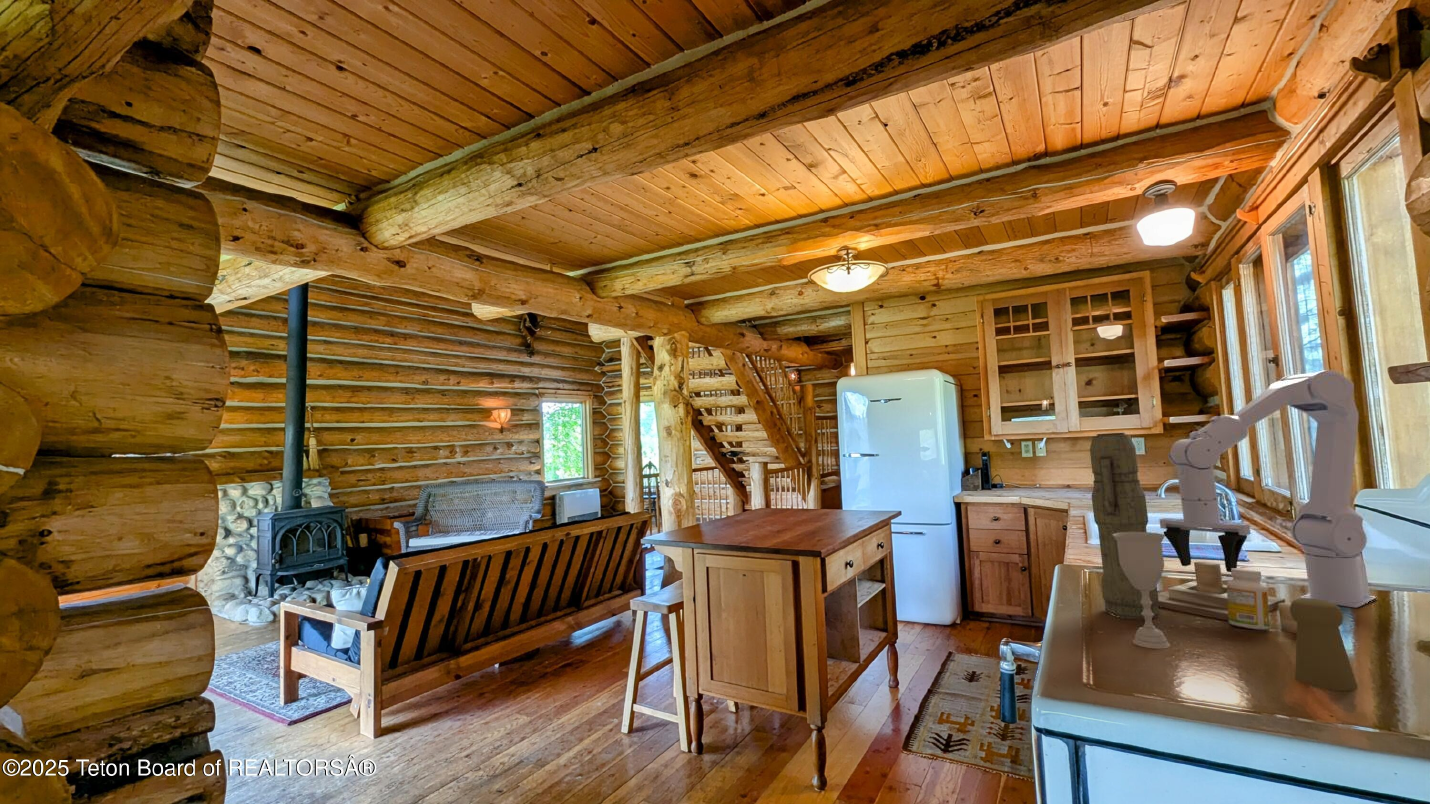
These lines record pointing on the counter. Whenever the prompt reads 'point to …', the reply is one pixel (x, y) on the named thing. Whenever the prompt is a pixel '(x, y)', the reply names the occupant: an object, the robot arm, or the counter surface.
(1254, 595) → the supplement bottle
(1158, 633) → the chalice
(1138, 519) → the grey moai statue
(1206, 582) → the long oak dowel
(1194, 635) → the counter surface
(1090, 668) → the counter surface
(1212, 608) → the collar board
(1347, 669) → the olive tapered capped post
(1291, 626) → the short oak dowel
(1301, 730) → the counter surface
